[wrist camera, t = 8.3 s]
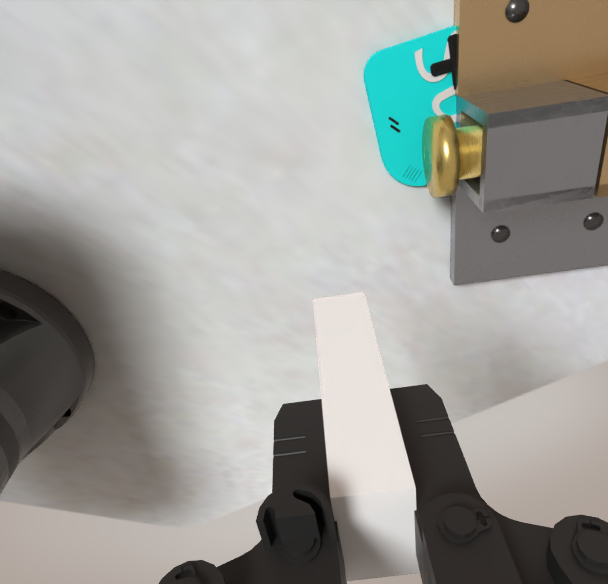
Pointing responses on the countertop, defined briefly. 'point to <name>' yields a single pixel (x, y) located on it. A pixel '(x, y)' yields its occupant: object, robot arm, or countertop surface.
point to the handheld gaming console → (410, 98)
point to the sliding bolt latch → (532, 138)
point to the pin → (449, 154)
